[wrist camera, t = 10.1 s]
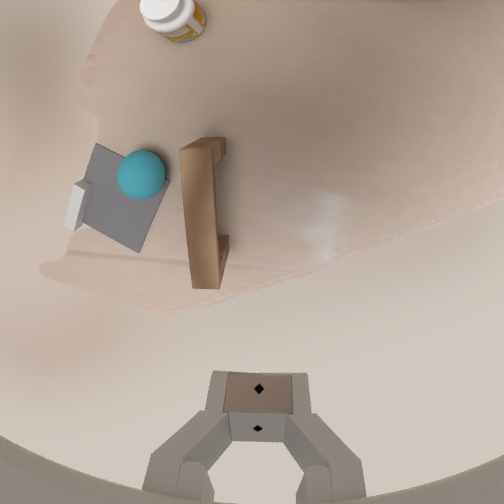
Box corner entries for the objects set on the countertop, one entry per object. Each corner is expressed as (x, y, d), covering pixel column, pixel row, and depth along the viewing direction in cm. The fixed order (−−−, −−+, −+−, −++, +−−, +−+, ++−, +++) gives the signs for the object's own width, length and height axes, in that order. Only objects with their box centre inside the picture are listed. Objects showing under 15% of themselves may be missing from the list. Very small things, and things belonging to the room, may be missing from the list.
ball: (142, 137, 35) (114, 149, 30) (180, 159, 36) (157, 175, 31) (128, 175, 39) (102, 191, 34) (163, 197, 39) (140, 217, 34)
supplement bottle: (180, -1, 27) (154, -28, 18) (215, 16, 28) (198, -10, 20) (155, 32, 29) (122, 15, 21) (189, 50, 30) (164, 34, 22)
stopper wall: (83, 179, 38) (73, 183, 36) (93, 184, 39) (84, 189, 36) (72, 219, 41) (63, 225, 39) (82, 225, 42) (73, 231, 39)
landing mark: (96, 143, 36) (95, 143, 36) (170, 180, 38) (169, 181, 38) (73, 216, 41) (73, 216, 41) (139, 252, 43) (138, 253, 43)
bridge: (225, 137, 35) (211, 148, 27) (229, 249, 42) (219, 289, 34) (200, 138, 36) (179, 149, 27) (207, 249, 42) (192, 288, 34)
